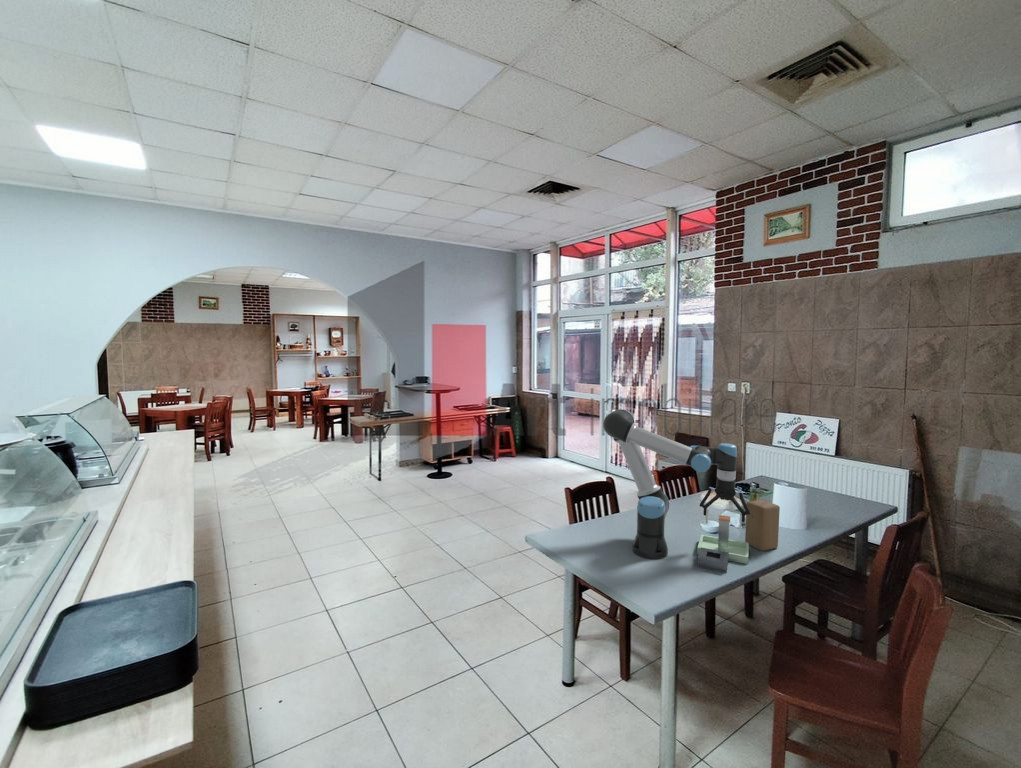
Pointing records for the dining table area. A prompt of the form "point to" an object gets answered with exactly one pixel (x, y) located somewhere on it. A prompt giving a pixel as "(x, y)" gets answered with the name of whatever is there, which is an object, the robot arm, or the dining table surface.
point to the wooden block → (762, 525)
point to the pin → (723, 533)
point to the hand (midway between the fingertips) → (723, 525)
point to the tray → (736, 548)
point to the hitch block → (713, 559)
